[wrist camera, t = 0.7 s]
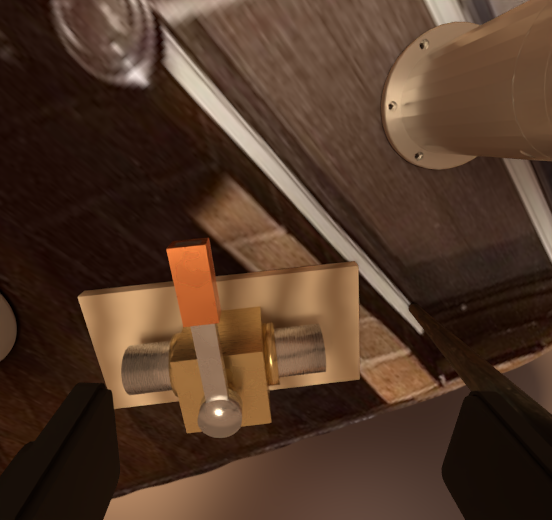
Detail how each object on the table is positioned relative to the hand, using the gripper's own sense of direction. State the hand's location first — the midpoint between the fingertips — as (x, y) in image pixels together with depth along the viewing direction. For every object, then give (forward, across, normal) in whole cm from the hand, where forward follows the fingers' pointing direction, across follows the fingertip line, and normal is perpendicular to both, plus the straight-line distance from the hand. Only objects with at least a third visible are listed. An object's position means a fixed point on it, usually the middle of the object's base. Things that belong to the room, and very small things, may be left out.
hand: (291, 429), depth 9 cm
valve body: (+27, +3, +15) cm, 30 cm away
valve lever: (+17, +4, +8) cm, 19 cm away
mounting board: (+28, +3, +15) cm, 32 cm away
